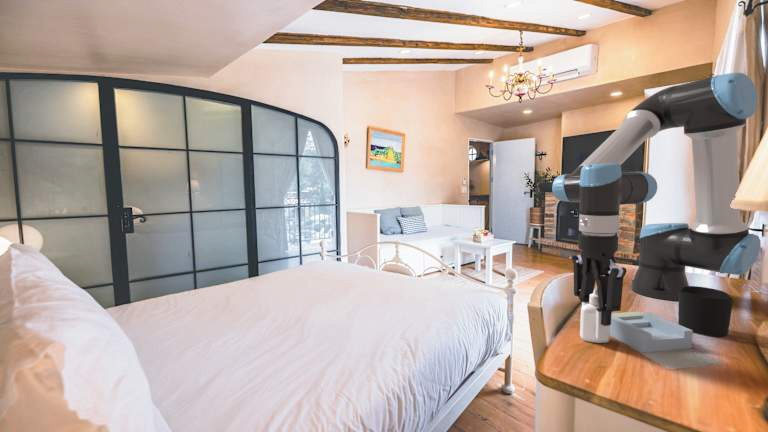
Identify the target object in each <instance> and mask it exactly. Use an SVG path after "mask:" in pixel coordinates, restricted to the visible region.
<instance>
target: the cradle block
mask: <svg viewBox="0 0 768 432" xmlns="http://www.w3.org/2000/svg"><path fill="white" fill-rule="evenodd" d="M642 313H643V319H637V320H622V319H620V318H618V317H616V316H614V315H612V316H611V325H610V331H609V334H610V335H609V336H614V339H615V338H617V340H621V341H623V342H624V343H626V344H627V345H628V346H629V347H630V348H631V347H632V348H635V349H637V350H638V352H639V351H640V352H642V353H643V352H650V353H651V352H655V351H656V352H658V351H659V352H660V351H662V352H664V350H669V351H670V350H671V351H672V350H674V351H675V350H676V349H678V350H679V349H686V348H687V349H688V348H690V349H691V348H692V349H693V347H692V346H693V334H694V333H693V330H691V329H688V328H686V327H683V326H681V325H679V323H676V322H674V321H671V320H669V319H667V318H664V317H662V316H659V315H657V314H654V313H652V312H642ZM623 342H622V343H623ZM624 343H623V344H624ZM637 350H636V351H637Z"/></svg>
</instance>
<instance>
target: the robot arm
mask: <svg viewBox="0 0 768 432" xmlns="http://www.w3.org/2000/svg"><path fill="white" fill-rule="evenodd" d="M758 99H759V97H758V92H757V88H756V85H755V83H754V82H753V80H752V79H751V78H750V77H749V76H748V75H747V74H746V73H742V72H737V71H736V72H731V73H725V74H717V75H714V76H711V77H707V78H702V79H698V80H693V81H691V82H689V81H688V82H686V83H682V84H678V85H672V86H670V87H667V88H664V89H661V90H659V91H657V92H655V93H654V94H652V95H650V96H649V97H647V98H645V99H644V100H642V101H641V102H640V103H638V104H637V105H636V106H634V107H633V108H632V109H631V110H630V111H629V112H628V113H627V114H626V115H625V116H624V118H623V119H622V123H621V125H619V126H618V127H617V129H616V130H615V131H613V132H612V133H611V135H609V136H608V137H607V138H606V139H605V141H603V142H602V143H601V144H600V145H599V146H598V147H597V148H596V149H595V150H594V151H593V152H592V153H591V154H589V156H588V157H587V158H586V159H585V160H584V161H583V162H582V163H581V164H579V166H578V167H577V168H576V169H574V170H573V172H572V173H565V174H560V175H558V176H556V177H555V179H554V180H553V182H552V186H551V188H552V189H551V190H552V194H553V196H554V198H555V199H557V200H558V201H561V202H568V203H579V215H578V231H579V232H580V233H579V234H577V235H578V238H577V240H578V241H577V247H578V249H579V250H581V252H580V254H579V255H572V256H571V260H572V264H573V295H574V296H575V297H578V300H579V301H580V308H581V307H582V306H583V305H586V304H589V295H590V294H592V293H593V292H594V289H595V285H596V289H597V291H598V300H599V308H596V330H595V337H596V338H597V339H601V338H609V339H610V335H609V325H611V313H613V312H620V311H621V310H622V299H623V287H624V278H625V276H626V273H627V268H626V267H620V266H619V265H618V264H616V259H615V253H616V252H618V251H619V236H618V234H617V233H619V232H620V206H621V205H622V206H623V205H625V206H626V205H639V204H642V203H647V202H649V201H651V200H652V199H653V198H654V197H655V195H656V194H657V191H658V188H659V187H658V181H657V180H656V178H655V177H654V176H653V175H652V174H650V173H648V172H643V171H638V170H637V171H623V172H622V166H621V165H622V164H624V163H625V161H626V160H627V159H628V158H629V157H630V156H631V155H633V153H634V152H635V151H636V150H637V149H638V148H639V147H640V146H641V145H642V144H643V143H644V142H645V141H647V139H651V138H653V137H655V136H656V135H657V134H658V133H660V132H662V131H665V130H668V129H674V128H683V134H684V135H685V136H687V137H689V138H690V139H691V146H692V147H691V148H692V163H693V164H692V166H693V181H694V183H693V184H694V185H693V186H694V199H695V201H694V202H695V216H696V217H695V218H696V220H695V221H693V223H691V224H690V225H689V224H688V223H687V222H686V223H685V222H668V223H666V222H665V223H650V224H645V225H643V226H642V227H641V229H640V234H639V249H638V250H639V252H638V253H639V255H638V267H637V270H636V271H635V275H634V276H633V277H634V278H633V279H632V280H631V281H630V283H631V284H630V289H631V291H632V292H634V293H637V294H638V295H642V296H644V297H649V298H653V299H660V300H666V301H668V300H669V301H679V290H680V288H682V287H684V286H690V285H689V282H688V278H687V276H686V275H687V274H686V267H689V268H694V269H700V270H705V271H708V272H709V271H710V272H716V273H720V274H727V275H728V274H729V275H738V276H740V275H744V274H746V273H747V272H749V271H750V270H751V269H752V268H753V266H754V265H755V263H756V262H757V259H758V256H759V254H760V249H761V239H760V237H759V235H757V234H754V233H749V230H750V229H749V225H748V224H747V223H746V222H743V221H742V220H741V214H740V212H741V210H740V209H733V208H731V207H730V204H731V202H732V200H734V199H735V197H736V196H735V194H736V192H737V190H738V188H739V189H740V181H739V178H740V177H739V176H740V175H739V150H738V143H739V142H738V133H739V131H740V130H742V129H743V128H744V127H745V126H746V124H747V123H746V122H747V121H746V120H747V119H749V118H751V117H753V116H754V115H755V113H756V111H757V109H758V108H757V106H758ZM733 198H734V199H733ZM580 312H581V309H580Z"/></svg>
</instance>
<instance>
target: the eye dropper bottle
mask: <svg viewBox="0 0 768 432" xmlns="http://www.w3.org/2000/svg"><path fill="white" fill-rule="evenodd" d="M596 308H599V300H598V291H597V288H594V291H593V293H592V294H590V295H589V304H586V305H583V306H582V307H581V306H580V310H581V311H580V318H579V319H580V322H579V323H580V324H579V327H580V328H579V337H580V338H581V339H582V340H583V341H585V342H588V343H596V344H602V343H603V344H605V343H608V342H609V341H610V337H609V338H601V339H597V338H596V337H595V330H596ZM609 331H610V325H609Z"/></svg>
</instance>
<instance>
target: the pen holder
mask: <svg viewBox="0 0 768 432" xmlns="http://www.w3.org/2000/svg"><path fill="white" fill-rule="evenodd" d="M733 304H734V300H733V298H732V297H731V295H730V294H728V293H727V292H726V291H723V290H719V289H716V288H710V287H703V286H697V285H695V286H694V285H689V286H684V287H682V288H680V290H679V300H678V312H677V313H678V324H679V325H681V326H683V327H686V328H688V329H691V330H693V334H697V335H700V336H706V337H711V338H725V337H727V336H728V335H729V329H730V323H731V316H732V310H733Z"/></svg>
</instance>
